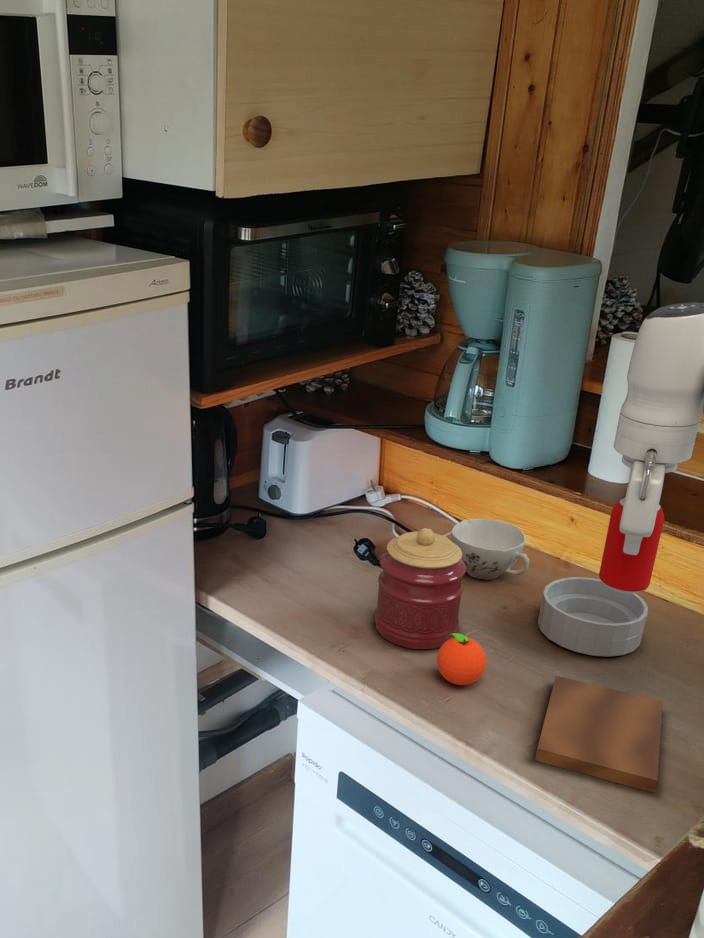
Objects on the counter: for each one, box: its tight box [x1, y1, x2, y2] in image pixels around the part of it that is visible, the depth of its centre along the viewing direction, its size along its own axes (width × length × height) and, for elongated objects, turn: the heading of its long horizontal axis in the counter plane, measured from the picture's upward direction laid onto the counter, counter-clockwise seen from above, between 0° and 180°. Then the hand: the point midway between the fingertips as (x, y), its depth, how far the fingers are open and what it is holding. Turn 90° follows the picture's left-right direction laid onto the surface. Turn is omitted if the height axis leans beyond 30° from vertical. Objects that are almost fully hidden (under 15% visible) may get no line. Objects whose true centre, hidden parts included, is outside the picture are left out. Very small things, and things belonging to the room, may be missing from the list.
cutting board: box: [534, 675, 663, 794], centre depth 119 cm, size 14×18×2 cm
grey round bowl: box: [537, 576, 649, 658], centre depth 142 cm, size 15×15×6 cm
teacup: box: [451, 517, 530, 581], centre depth 159 cm, size 15×12×8 cm
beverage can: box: [598, 497, 665, 594], centre depth 117 cm, size 6×6×12 cm
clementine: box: [436, 632, 487, 686], centre depth 130 cm, size 8×7×7 cm
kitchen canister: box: [374, 527, 467, 650], centre depth 140 cm, size 13×13×18 cm
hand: (632, 540), depth 116 cm, fingers closed on beverage can, 6 cm apart
